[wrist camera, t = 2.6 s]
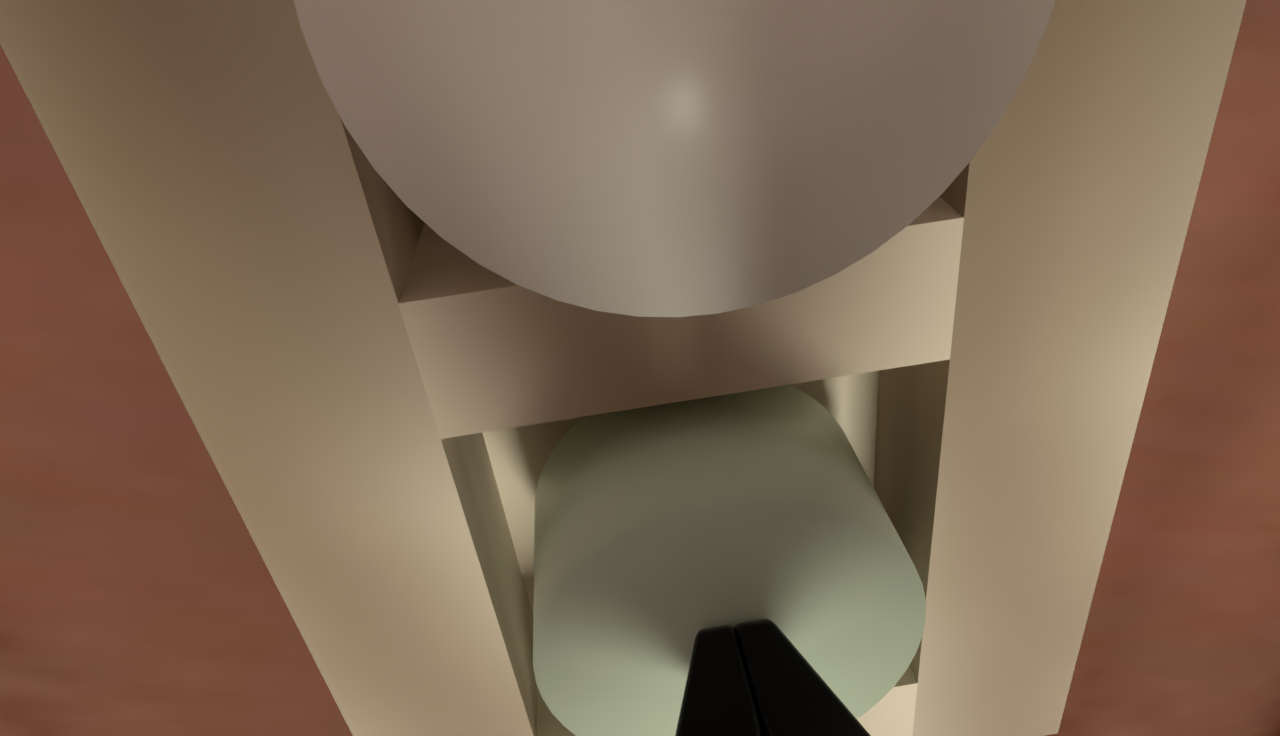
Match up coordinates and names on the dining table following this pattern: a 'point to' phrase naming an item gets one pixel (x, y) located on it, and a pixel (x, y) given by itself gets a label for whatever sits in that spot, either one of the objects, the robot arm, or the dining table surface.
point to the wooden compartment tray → (631, 351)
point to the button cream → (670, 131)
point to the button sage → (711, 556)
